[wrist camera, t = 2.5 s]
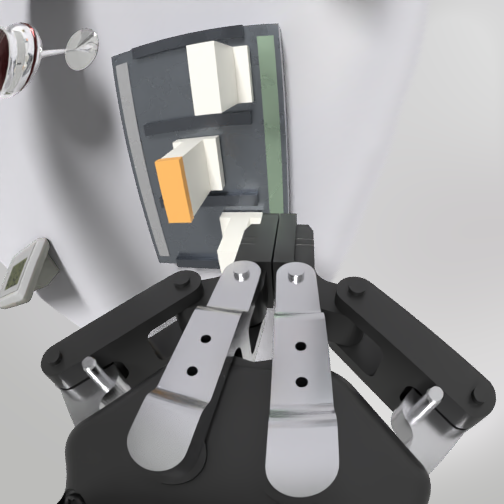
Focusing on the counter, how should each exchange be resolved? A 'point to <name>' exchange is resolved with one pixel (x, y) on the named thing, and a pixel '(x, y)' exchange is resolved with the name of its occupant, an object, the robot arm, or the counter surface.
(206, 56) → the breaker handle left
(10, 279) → the digital clock
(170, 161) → the breaker handle
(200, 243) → the breaker panel
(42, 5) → the counter surface
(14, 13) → the counter surface
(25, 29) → the wineglass
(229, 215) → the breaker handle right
